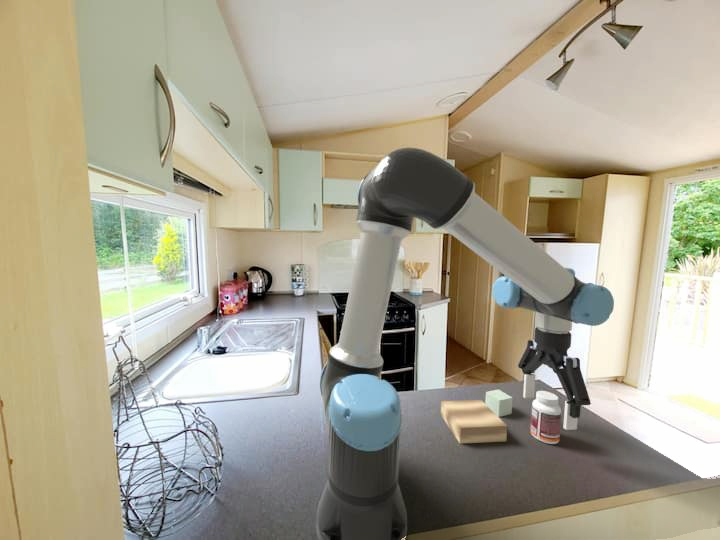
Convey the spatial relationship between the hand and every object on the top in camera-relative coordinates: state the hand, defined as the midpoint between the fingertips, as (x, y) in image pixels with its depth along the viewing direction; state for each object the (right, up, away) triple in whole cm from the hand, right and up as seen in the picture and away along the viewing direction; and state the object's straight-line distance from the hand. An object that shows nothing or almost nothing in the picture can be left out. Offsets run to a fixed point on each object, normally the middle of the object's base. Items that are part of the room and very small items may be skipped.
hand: (547, 411), depth 71 cm
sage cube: (-7, -6, +12) cm, 15 cm away
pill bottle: (-1, -7, 0) cm, 7 cm away
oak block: (-18, -6, +4) cm, 19 cm away
